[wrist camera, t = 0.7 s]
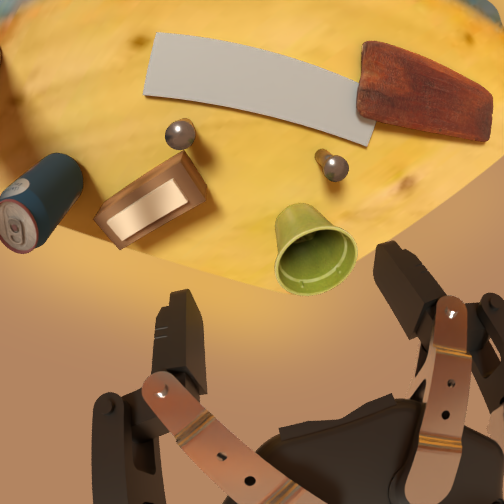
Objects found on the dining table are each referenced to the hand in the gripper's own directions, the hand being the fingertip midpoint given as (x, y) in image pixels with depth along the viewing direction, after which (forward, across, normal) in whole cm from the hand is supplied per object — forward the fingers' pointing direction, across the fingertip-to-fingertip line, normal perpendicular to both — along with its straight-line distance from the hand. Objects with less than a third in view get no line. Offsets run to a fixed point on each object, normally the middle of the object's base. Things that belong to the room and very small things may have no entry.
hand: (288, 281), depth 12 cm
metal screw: (+23, +5, -3) cm, 23 cm away
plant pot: (+23, -6, +12) cm, 26 cm away
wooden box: (+23, +11, +4) cm, 26 cm away
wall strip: (+22, -5, -5) cm, 24 cm away
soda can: (+23, +21, -2) cm, 31 cm away
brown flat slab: (+22, -27, -3) cm, 35 cm away
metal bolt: (+22, -10, +4) cm, 25 cm away
